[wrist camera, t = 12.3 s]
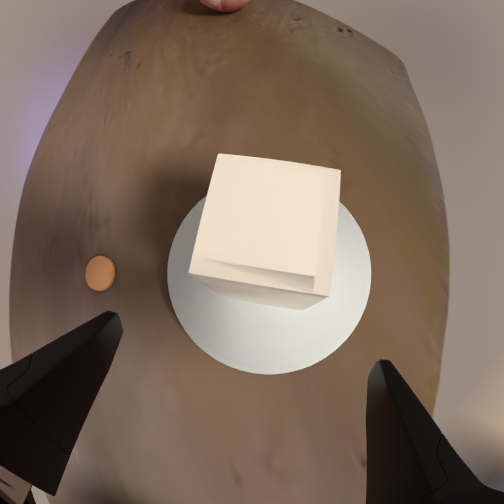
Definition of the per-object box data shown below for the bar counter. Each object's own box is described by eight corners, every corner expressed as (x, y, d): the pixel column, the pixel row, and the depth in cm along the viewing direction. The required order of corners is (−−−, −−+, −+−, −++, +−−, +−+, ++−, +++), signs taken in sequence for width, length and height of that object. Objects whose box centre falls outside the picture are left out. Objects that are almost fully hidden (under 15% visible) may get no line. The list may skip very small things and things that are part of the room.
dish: (305, 405, 20) (307, 409, 19) (140, 304, 23) (132, 302, 22) (392, 236, 23) (398, 231, 22) (236, 156, 26) (235, 147, 25)
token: (104, 297, 23) (101, 297, 23) (83, 279, 24) (79, 278, 23) (121, 268, 24) (118, 266, 24) (99, 251, 25) (96, 249, 24)
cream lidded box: (302, 311, 21) (329, 296, 11) (224, 298, 21) (188, 272, 12) (312, 236, 22) (340, 170, 13) (239, 225, 23) (218, 153, 13)
